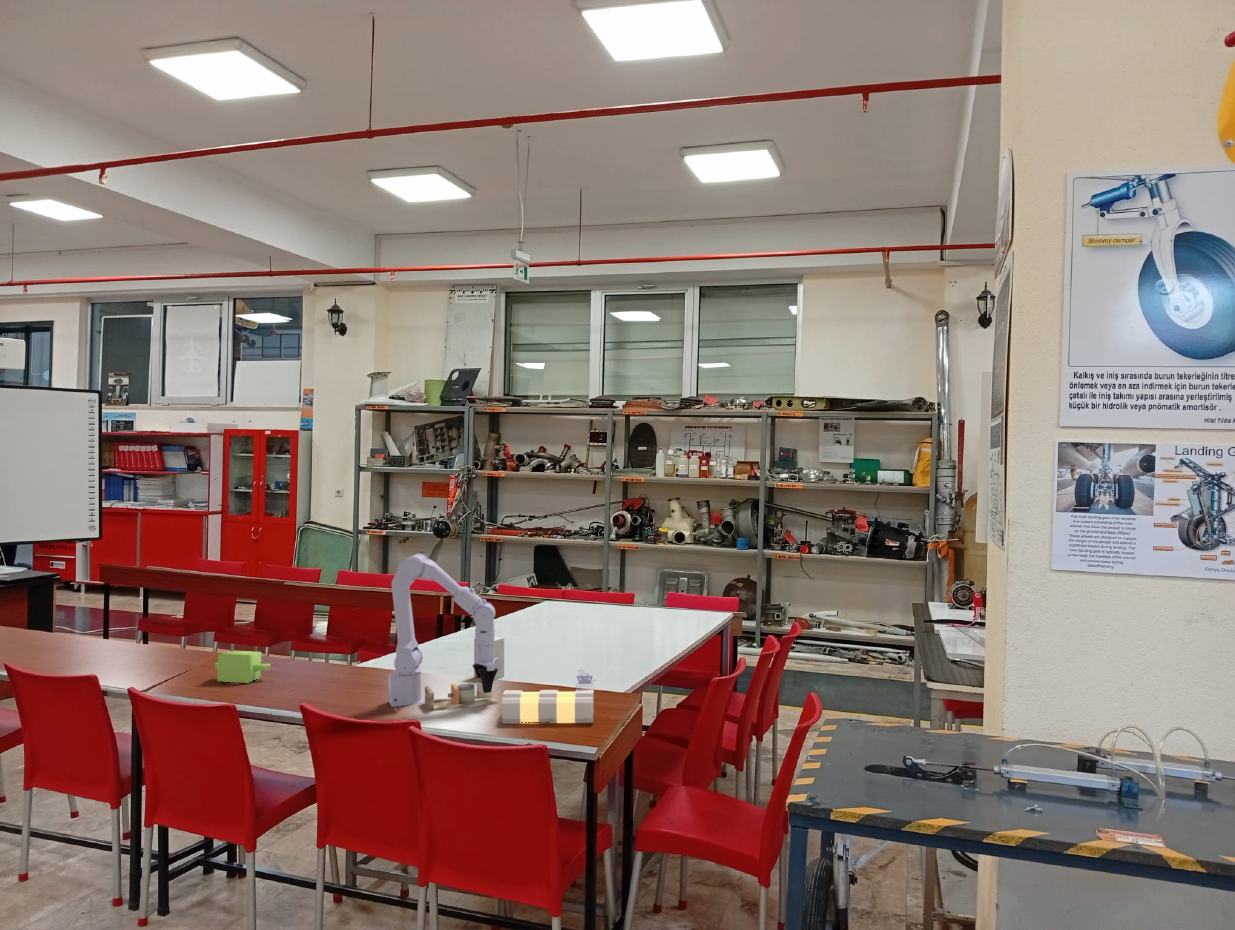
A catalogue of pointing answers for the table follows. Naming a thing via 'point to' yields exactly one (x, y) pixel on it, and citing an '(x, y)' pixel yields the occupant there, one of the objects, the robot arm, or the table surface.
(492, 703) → the lane
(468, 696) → the green jar
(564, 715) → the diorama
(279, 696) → the table surface
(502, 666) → the small box
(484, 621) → the robot arm
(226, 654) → the gearbox
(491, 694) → the cream jar
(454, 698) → the pusher
